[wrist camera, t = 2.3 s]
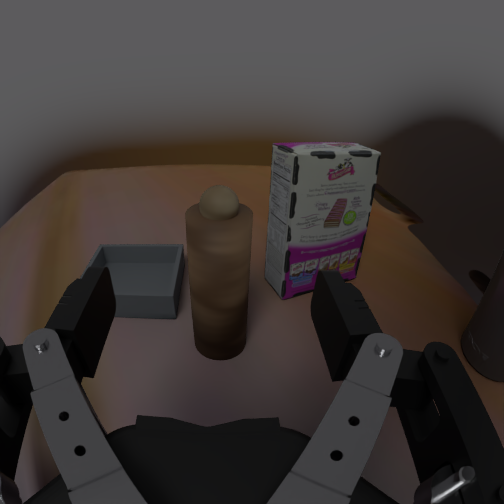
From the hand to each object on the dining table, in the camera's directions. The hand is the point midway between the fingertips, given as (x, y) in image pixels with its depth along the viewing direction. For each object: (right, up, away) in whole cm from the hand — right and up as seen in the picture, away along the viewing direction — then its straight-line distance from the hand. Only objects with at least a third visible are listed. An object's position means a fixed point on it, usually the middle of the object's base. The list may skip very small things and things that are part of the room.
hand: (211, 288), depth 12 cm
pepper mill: (-1, -7, +17) cm, 19 cm away
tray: (-12, -3, +23) cm, 26 cm away
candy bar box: (+9, -2, +27) cm, 28 cm away
